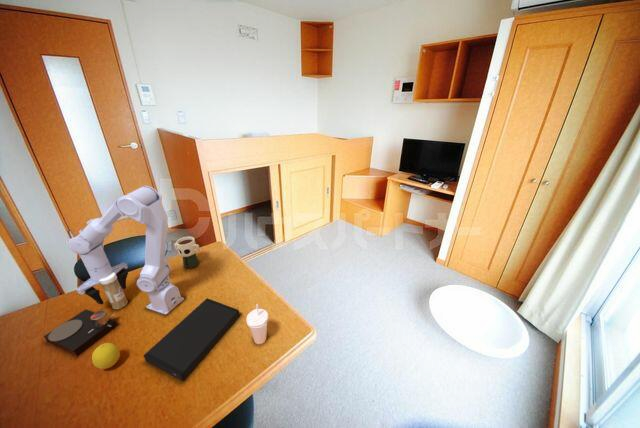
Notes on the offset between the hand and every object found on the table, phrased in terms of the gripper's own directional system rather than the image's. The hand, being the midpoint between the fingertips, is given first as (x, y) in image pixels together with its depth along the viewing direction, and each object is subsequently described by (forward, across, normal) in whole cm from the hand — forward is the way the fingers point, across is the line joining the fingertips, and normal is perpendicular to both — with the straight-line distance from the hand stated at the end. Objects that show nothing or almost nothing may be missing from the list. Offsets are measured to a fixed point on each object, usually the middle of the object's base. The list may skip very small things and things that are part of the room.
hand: (112, 295), depth 85 cm
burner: (+1, +14, 0) cm, 14 cm away
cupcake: (+1, +9, +8) cm, 12 cm away
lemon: (+4, +16, +22) cm, 28 cm away
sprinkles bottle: (+4, 0, +2) cm, 5 cm away
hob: (+4, +11, +4) cm, 12 cm away
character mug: (+4, -27, +8) cm, 29 cm away
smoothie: (+4, -5, +57) cm, 58 cm away
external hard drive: (+4, +1, +38) cm, 38 cm away
